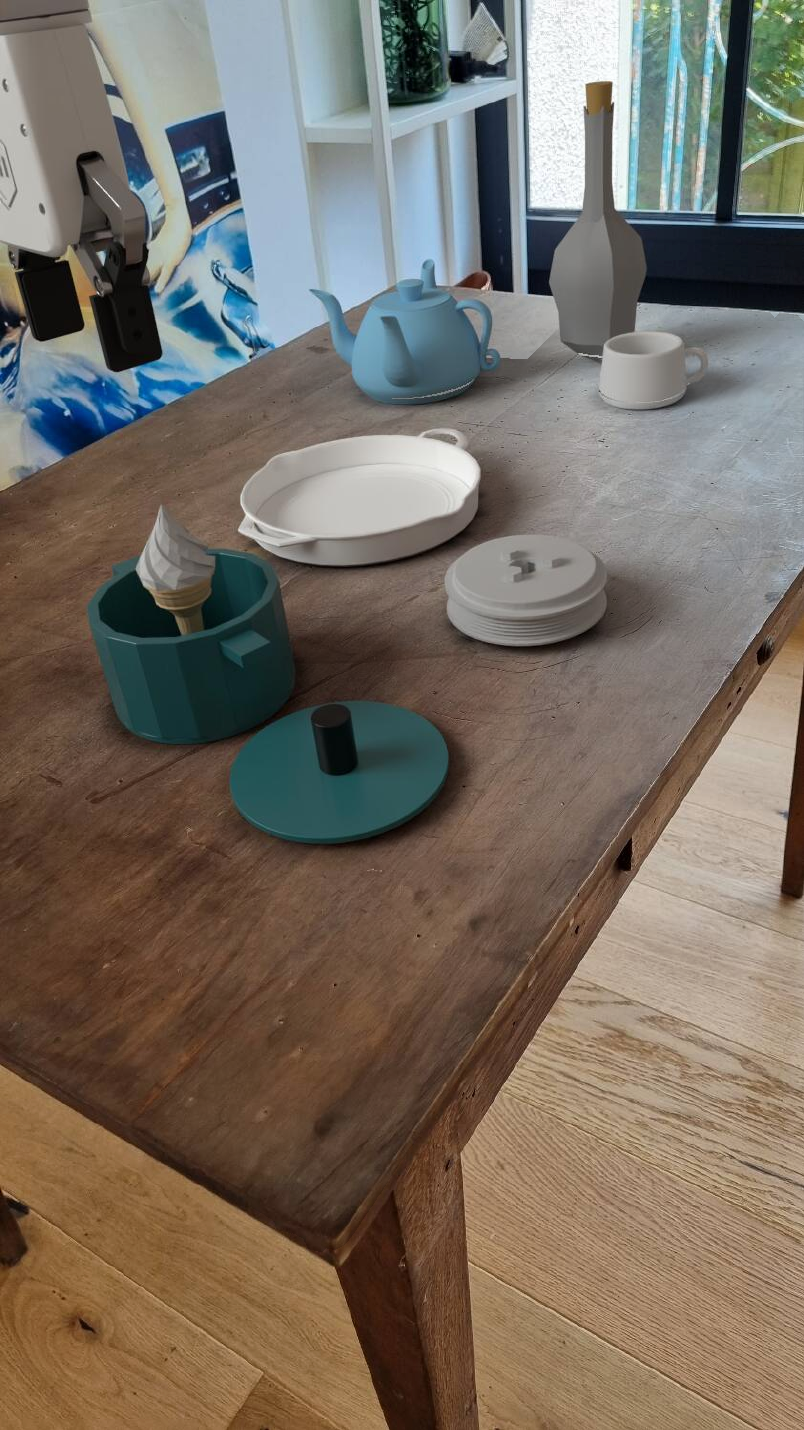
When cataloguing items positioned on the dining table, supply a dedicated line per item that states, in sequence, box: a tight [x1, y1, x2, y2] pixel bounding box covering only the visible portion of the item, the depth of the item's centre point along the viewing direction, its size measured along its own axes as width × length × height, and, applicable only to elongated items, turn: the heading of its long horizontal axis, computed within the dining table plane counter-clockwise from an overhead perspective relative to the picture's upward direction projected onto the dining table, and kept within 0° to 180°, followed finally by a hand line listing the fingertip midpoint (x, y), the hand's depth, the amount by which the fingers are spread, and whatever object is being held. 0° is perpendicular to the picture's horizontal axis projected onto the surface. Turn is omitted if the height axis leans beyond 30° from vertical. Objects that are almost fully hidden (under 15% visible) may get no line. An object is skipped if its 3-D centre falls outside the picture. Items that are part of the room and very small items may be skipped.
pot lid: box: [228, 700, 450, 845], centre depth 73 cm, size 15×15×5 cm
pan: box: [237, 427, 482, 568], centre depth 106 cm, size 24×27×4 cm
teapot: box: [308, 258, 502, 405], centre depth 132 cm, size 17×19×12 cm
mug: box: [598, 330, 709, 410], centre depth 123 cm, size 12×10×6 cm
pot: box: [86, 548, 297, 745], centre depth 82 cm, size 14×19×8 cm
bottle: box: [548, 80, 648, 363], centre depth 127 cm, size 11×11×30 cm
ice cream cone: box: [136, 503, 215, 636], centre depth 80 cm, size 6×6×15 cm
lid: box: [444, 533, 608, 647], centre depth 87 cm, size 13×13×5 cm
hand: (96, 349), depth 64 cm, fingers open, 9 cm apart
